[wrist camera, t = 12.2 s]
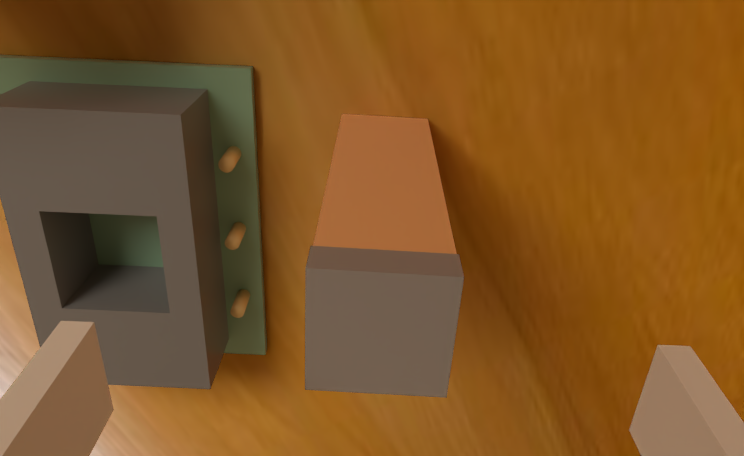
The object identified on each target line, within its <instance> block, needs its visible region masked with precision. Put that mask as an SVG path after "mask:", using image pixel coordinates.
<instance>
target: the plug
mask: <svg viewBox="0 0 744 456" xmlns="http://www.w3.org/2000/svg"><path fill="white" fill-rule="evenodd" d="M463 281H464V274H463V270H462V265H461V261H460V256H459V254H457V253H456V249H455V244H454V239H453V234H452V230H451V225H450V220H449V216H448V211H447V206H446V202H445V197H444V192H443V188H442V183H441V178H440V174H439V169H438V164H437V160H436V155H435V150H434V146H433V141H432V136H431V132H430V127H429V122H428V119H423V118H407V117H390V116H373V115H356V114H342V116H341V121H340V125H339V130H338V134H337V139H336V143H335V148H334V152H333V157H332V161H331V166H330V171H329V175H328V180H327V184H326V189H325V193H324V198H323V202H322V207H321V211H320V216H319V220H318V225H317V230H316V234H315V239H314V243H313V246H311V247H310V251H309V256H308V260H307V265H306V303H305V390H321V391H339V392H357V393H375V394H393V395H411V396H429V397H447V390H448V383H449V377H450V370H451V363H452V356H453V349H454V343H455V336H456V329H457V322H458V315H459V309H460V302H461V295H462V288H463Z"/></svg>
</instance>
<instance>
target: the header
mask: <svg viewBox="0 0 744 456" xmlns="http://www.w3.org/2000/svg"><path fill="white" fill-rule="evenodd" d="M0 198H1V202H2V205H3V209H4V213H5V217H6V220H7V224H8V228H9V232H10V235H11V239H12V243H13V247H14V250H15V254H16V258H17V262H18V265H19V269H20V273H21V277H22V280H23V284H24V288H25V292H26V295H27V299H28V303H29V307H30V310H31V314H32V318H33V322H34V325H35V329H36V333H37V337H38V340H39V344H40V347H41V346H42V345H43V343H44V342H45V341H46V340H47V338H48V337H49V336H50V334H51V333H52V332H53V330H54V329H55V328H56V326H57V325H58V324H59V323H60V321H80V322H94V324H95V329H96V333H97V338H98V342H99V347H100V351H101V355H102V360H103V364H104V369H105V373H106V378H107V382H108V385H129V386H152V387H174V388H197V389H211V386H212V383H213V381H214V378H215V375H216V373H217V370H218V367H219V364H220V362H221V359H222V356H223V354H224V353H234V354H257V355H266V351H267V337H266V317H265V297H264V277H263V257H262V237H261V217H260V197H259V177H258V157H257V137H256V117H255V97H254V77H253V66H239V65H216V64H194V63H172V62H149V61H127V60H105V59H82V58H60V57H38V56H16V55H0Z"/></svg>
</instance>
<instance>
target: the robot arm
mask: <svg viewBox="0 0 744 456" xmlns="http://www.w3.org/2000/svg"><path fill="white" fill-rule="evenodd" d="M113 410H114V409H113V405H112V400H111V396H110V391H109V387H108V382H107V378H106V373H105V369H104V364H103V360H102V355H101V351H100V347H99V342H98V338H97V333H96V329H95V324H94V322H80V321H60V323H59V324H58V325H57V326H56V328H55V329H54V330H53V332H52V333H51V334H50V336H49V337H48V338H47V340H46V341H45V342H44V343H43V345H42V346H41V347H40V349H39V350H38V351H37V353H36V354H35V355H34V356H33V358H32V359H31V360H30V362H29V363H28V364H27V366H26V367H25V368H24V369H23V371H22V372H21V373H20V375H19V376H18V377H17V379H16V380H15V381H14V382H13V384H12V385H11V386H10V388H9V389H8V390H7V392H6V393H5V394H4V395H3V397H2V398H1V399H0V456H89V455H90V453H91V451H92V449H93V447H94V446H95V444H96V442H97V440H98V438H99V436H100V434H101V432H102V430H103V429H104V427H105V425H106V423H107V421H108V419H109V417H110V415H111V413H112V412H113ZM629 431H630V433H631V435H632V437H633V439H634V441H635V444H636V446H637V448H638V450H639V452H640V454H641V456H744V422H743V421H742V419H741V418H740V416H739V415H738V414H737V412H736V411H735V409H734V408H733V406H732V405H731V404H730V402H729V401H728V399H727V398H726V396H725V395H724V394H723V392H722V391H721V389H720V388H719V386H718V385H717V384H716V382H715V381H714V379H713V378H712V376H711V375H710V374H709V372H708V371H707V369H706V368H705V366H704V365H703V364H702V362H701V361H700V359H699V358H698V356H697V355H696V353H695V352H694V351H693V349H692V348H691V346H673V345H658V346H657V349H656V352H655V354H654V357H653V360H652V363H651V366H650V369H649V372H648V375H647V378H646V381H645V384H644V387H643V390H642V393H641V396H640V399H639V402H638V405H637V408H636V411H635V414H634V417H633V420H632V423H631V426H630V429H629Z"/></svg>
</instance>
